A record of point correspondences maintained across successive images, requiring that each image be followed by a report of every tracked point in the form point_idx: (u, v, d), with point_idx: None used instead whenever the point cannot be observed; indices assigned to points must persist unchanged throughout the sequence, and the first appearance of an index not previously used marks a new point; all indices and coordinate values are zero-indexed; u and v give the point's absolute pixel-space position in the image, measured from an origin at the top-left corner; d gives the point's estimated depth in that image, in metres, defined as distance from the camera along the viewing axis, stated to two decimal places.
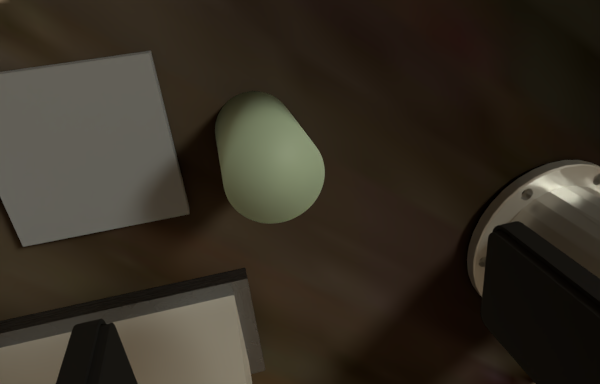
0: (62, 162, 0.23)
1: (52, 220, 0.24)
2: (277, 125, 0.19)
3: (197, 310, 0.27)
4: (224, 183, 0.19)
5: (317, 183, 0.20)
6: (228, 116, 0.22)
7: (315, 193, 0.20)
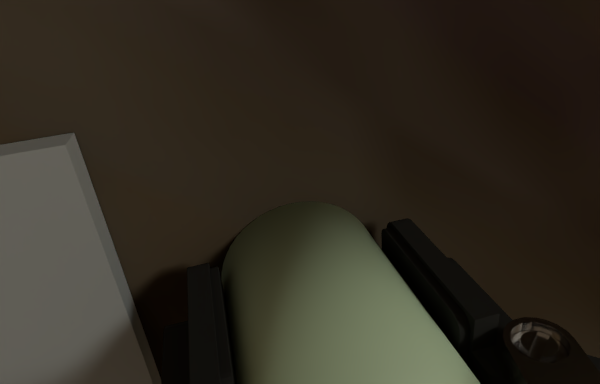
0: None
1: None
2: None
3: None
4: None
5: None
6: (257, 288, 0.09)
7: None
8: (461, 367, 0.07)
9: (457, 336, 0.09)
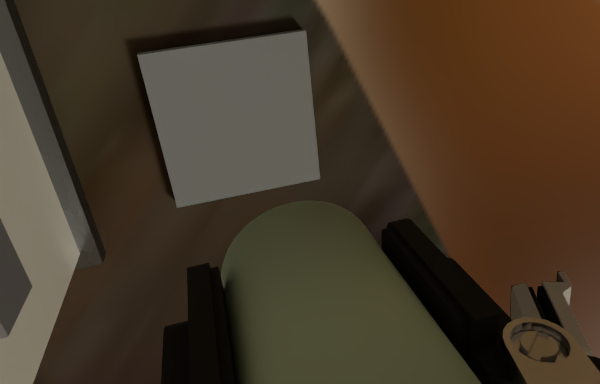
0: (231, 106, 0.25)
1: (170, 88, 0.24)
2: None
3: (63, 226, 0.25)
4: None
5: None
6: (257, 288, 0.09)
7: None
8: (462, 367, 0.07)
9: (457, 336, 0.09)
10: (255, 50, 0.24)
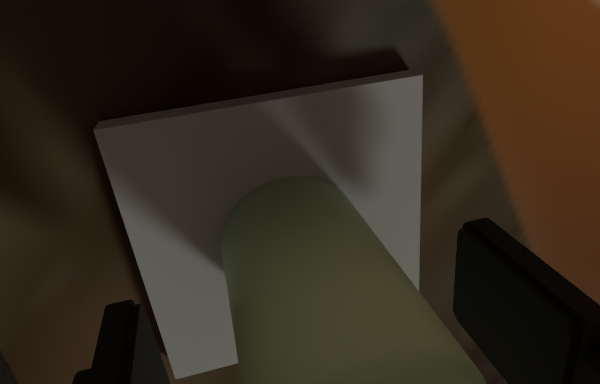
0: None
1: (161, 189, 0.12)
2: (390, 329, 0.07)
3: None
4: None
5: None
6: (252, 246, 0.11)
7: None
8: (420, 301, 0.09)
9: (566, 341, 0.08)
10: (327, 113, 0.13)
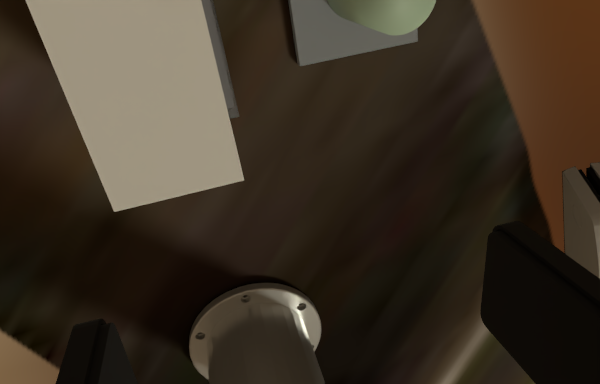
0: None
1: None
2: None
3: None
4: None
5: None
6: None
7: (429, 8, 0.25)
8: None
9: None
10: None
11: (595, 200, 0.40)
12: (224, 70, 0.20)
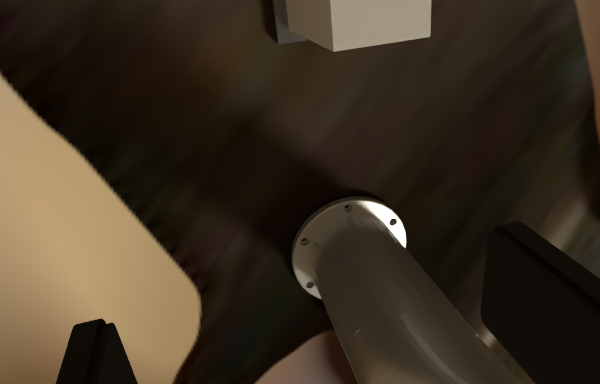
0: None
1: None
2: None
3: None
4: None
5: None
6: None
7: None
8: None
9: None
10: None
11: None
12: None
